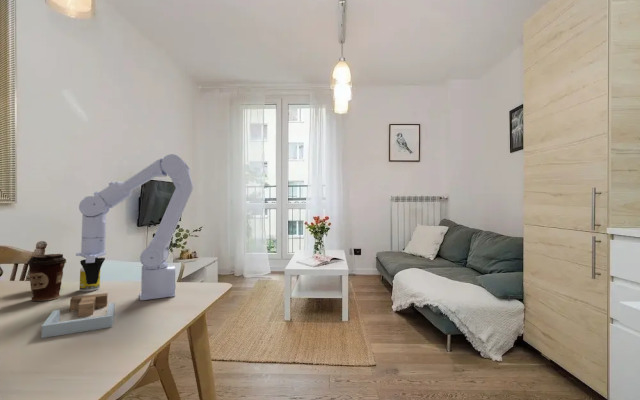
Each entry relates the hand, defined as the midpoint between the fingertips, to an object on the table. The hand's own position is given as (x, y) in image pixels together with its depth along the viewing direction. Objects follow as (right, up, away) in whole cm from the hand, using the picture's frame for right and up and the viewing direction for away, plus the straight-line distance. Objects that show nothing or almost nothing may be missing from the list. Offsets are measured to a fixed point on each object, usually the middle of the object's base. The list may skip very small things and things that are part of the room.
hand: (92, 283), depth 92 cm
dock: (+11, -5, -19) cm, 22 cm away
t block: (+5, -5, -9) cm, 11 cm away
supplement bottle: (-9, -5, +11) cm, 15 cm away
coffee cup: (-14, -5, +1) cm, 15 cm away
